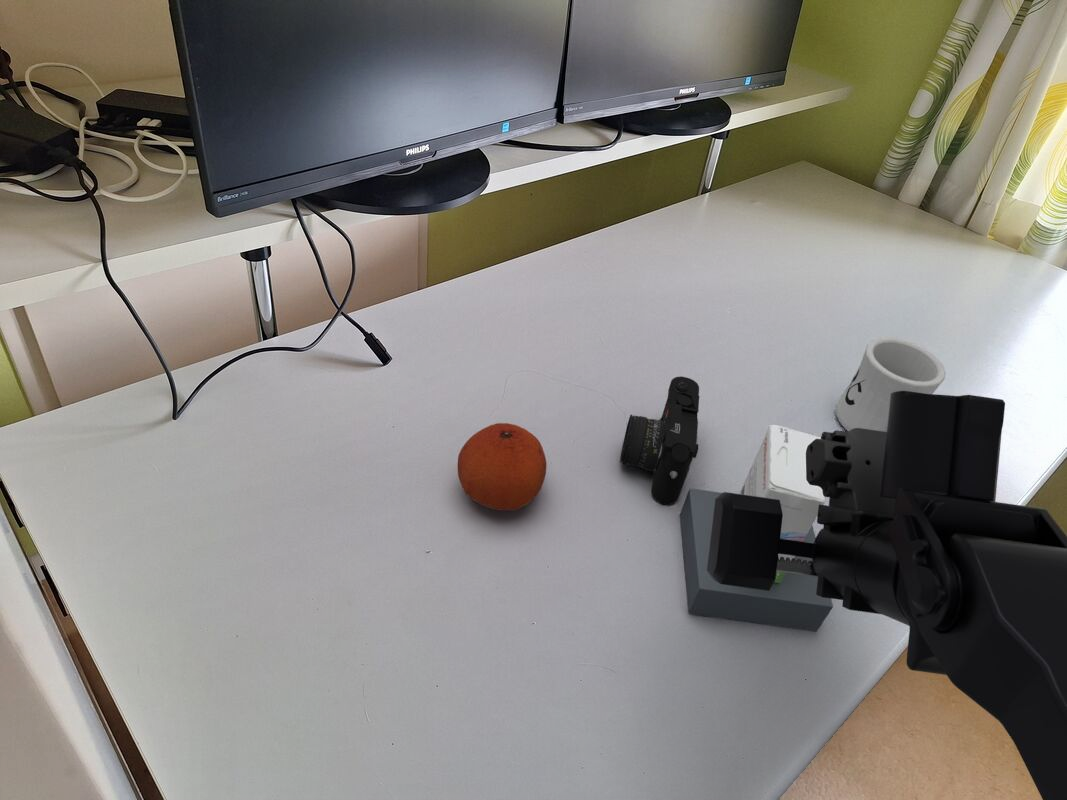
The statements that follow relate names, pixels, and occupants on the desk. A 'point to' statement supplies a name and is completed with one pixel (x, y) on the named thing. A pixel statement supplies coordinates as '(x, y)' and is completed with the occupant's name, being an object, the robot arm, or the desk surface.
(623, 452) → the camera
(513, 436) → the fruit
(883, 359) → the mug
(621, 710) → the desk surface
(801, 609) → the grey block
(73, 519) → the desk surface
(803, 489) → the ink box
